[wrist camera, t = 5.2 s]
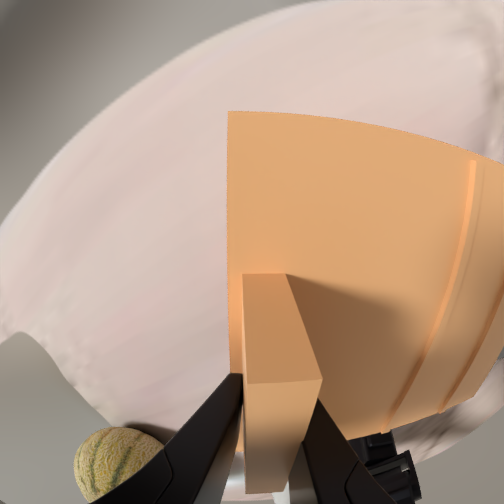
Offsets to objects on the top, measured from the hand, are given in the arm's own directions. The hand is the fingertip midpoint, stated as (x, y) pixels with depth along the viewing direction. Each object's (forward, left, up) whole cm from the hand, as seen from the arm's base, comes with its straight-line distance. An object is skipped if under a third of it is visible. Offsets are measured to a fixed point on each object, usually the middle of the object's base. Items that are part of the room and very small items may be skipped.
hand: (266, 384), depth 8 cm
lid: (0, -7, -3) cm, 7 cm away
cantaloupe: (-29, +16, -12) cm, 35 cm away
